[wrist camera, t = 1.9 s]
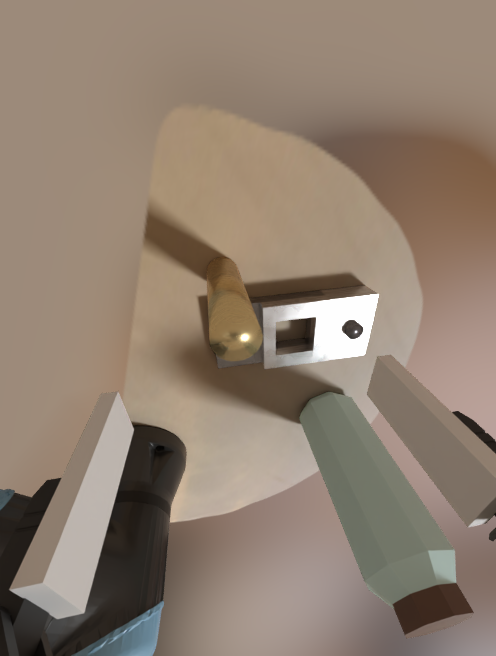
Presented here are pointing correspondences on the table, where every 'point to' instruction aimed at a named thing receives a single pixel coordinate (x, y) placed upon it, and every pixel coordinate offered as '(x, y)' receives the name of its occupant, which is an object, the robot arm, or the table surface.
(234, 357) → the pin
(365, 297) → the chain ends
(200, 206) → the table surface
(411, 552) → the water bottle
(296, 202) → the table surface
